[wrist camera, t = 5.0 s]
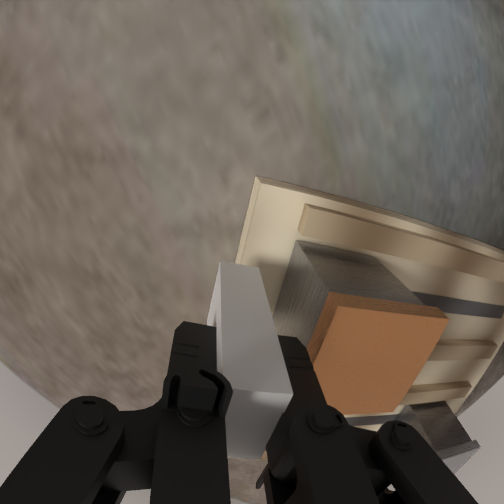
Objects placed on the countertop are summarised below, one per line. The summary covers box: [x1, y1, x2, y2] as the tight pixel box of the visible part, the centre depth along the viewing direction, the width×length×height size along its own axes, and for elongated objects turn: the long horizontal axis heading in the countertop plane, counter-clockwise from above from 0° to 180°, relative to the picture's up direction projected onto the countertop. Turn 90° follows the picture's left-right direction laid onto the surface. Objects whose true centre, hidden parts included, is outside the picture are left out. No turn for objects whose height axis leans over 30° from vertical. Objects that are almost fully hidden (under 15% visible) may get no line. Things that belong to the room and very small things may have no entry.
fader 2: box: [395, 400, 480, 474], centre depth 18 cm, size 4×4×6 cm
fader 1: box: [272, 240, 449, 415], centre depth 12 cm, size 4×4×6 cm
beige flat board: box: [227, 176, 504, 459], centre depth 18 cm, size 22×18×3 cm
